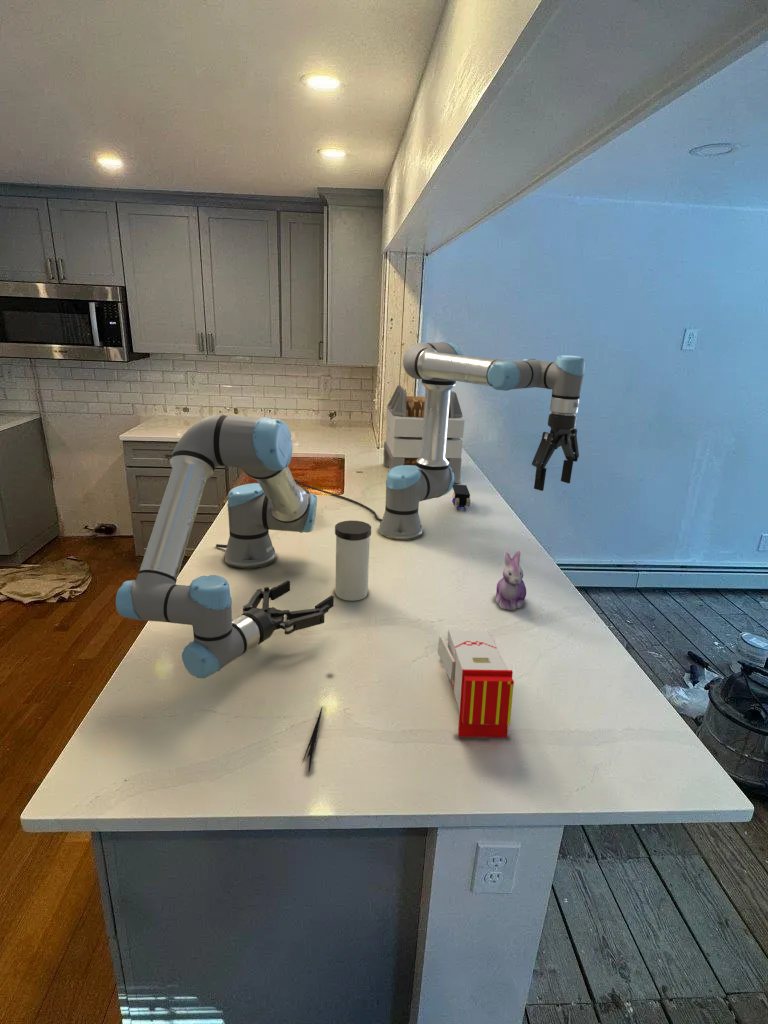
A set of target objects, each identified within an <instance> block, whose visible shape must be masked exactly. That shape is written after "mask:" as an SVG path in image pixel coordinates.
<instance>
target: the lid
mask: <svg viewBox="0 0 768 1024" xmlns="http://www.w3.org/2000/svg"><path fill="white" fill-rule="evenodd" d="M334 534H335V537H336V536H337V537H339V538H342V539H346V540H362V539H366V538H368V537H371V535H372V525H371V524H370V523H368V522H365V521H361V520H344V521H340V522H338V523H336V524H335V526H334Z"/></svg>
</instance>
